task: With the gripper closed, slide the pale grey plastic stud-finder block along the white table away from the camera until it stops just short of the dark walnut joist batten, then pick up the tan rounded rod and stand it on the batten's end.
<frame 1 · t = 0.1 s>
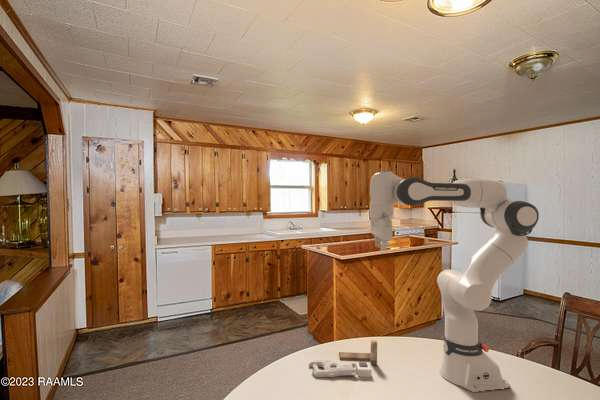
hand: (380, 248, 112), 48 cm above the table, fingers open, 8 cm apart
gun: (332, 372, 112), on the table
tan rounded rod: (373, 364, 118), on the table
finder: (363, 373, 111), on the table
joist batten: (355, 357, 122), on the table
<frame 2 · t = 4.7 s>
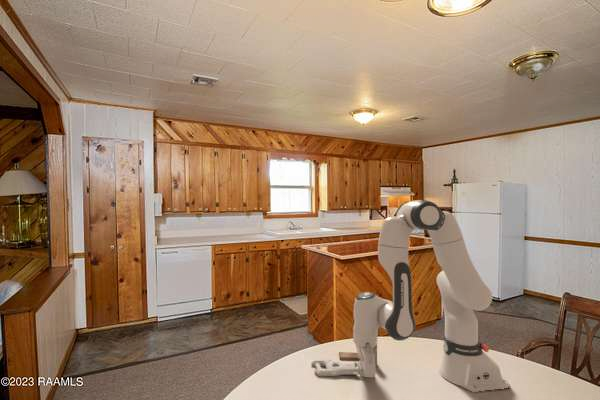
hand: (364, 374, 108), 2 cm above the table, fingers closed
gun: (334, 371, 113), on the table
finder: (365, 372, 112), on the table, touching gripper
everything else where it was.
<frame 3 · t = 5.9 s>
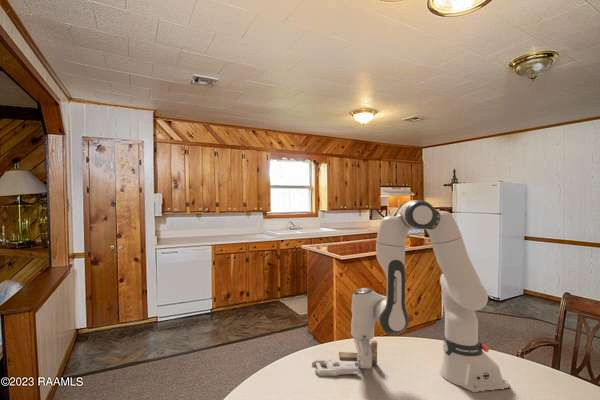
hand: (362, 366, 113), 2 cm above the table, fingers closed
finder: (363, 364, 117), on the table
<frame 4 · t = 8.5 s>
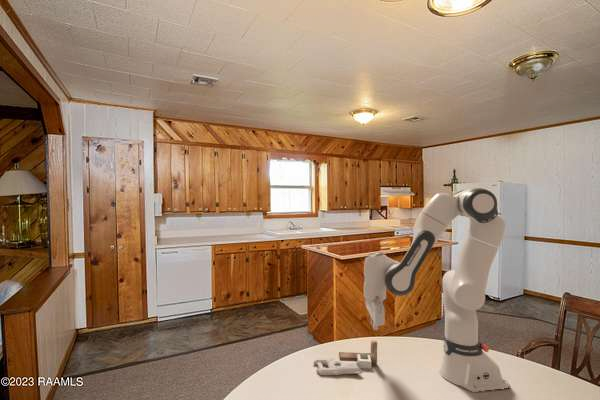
hand: (374, 327, 118), 15 cm above the table, fingers open, 3 cm apart
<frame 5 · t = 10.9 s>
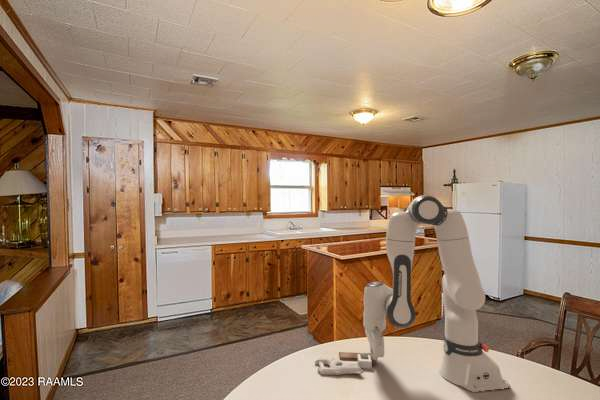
hand: (373, 356, 118), 3 cm above the table, fingers closed on tan rounded rod, 3 cm apart
tan rounded rod: (373, 364, 118), on the table, touching gripper
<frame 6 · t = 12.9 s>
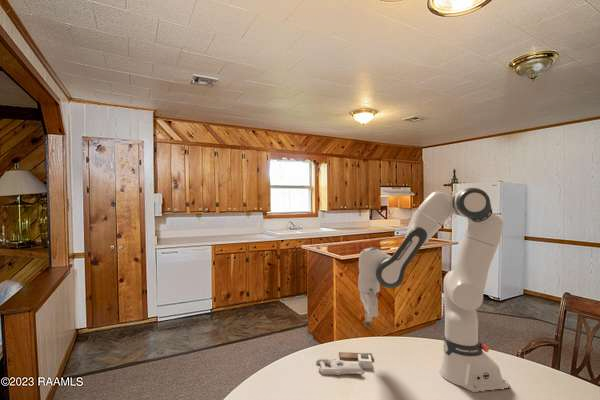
hand: (368, 318, 122), 17 cm above the table, fingers closed on tan rounded rod, 3 cm apart
tan rounded rod: (368, 326, 122), point 13 cm above the table, touching gripper
when the fingers open (5 cm above the table, at t = 15.1 s): tan rounded rod stays where it is, resting on joist batten.
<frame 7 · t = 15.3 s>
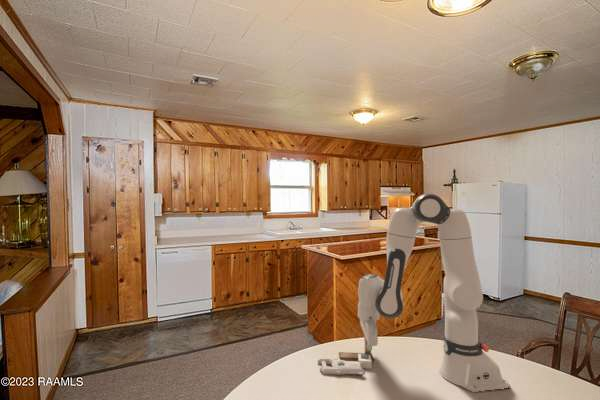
hand: (368, 345, 122), 5 cm above the table, fingers open, 5 cm apart
tan rounded rod: (367, 355, 122), point 1 cm above the table, touching joist batten
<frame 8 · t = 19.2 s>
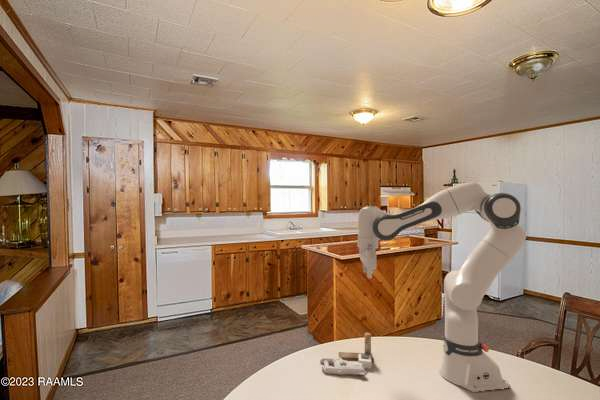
hand: (367, 275, 126), 34 cm above the table, fingers open, 8 cm apart
at the end: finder 1.8 cm from the target spot, on the table; tan rounded rod 0.0 cm from the target spot, point 1.0 cm above the table; tan rounded rod tilted 1° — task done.
